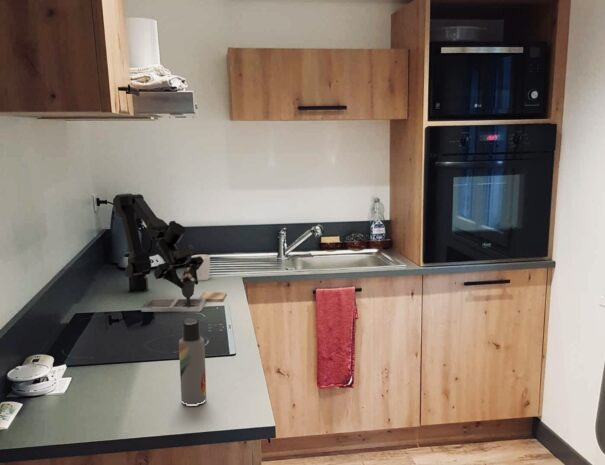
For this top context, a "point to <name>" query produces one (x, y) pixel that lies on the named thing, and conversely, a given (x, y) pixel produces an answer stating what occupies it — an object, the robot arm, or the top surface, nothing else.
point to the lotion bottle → (192, 363)
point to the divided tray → (171, 305)
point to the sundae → (188, 287)
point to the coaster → (213, 296)
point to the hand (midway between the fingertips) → (189, 286)
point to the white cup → (203, 268)
